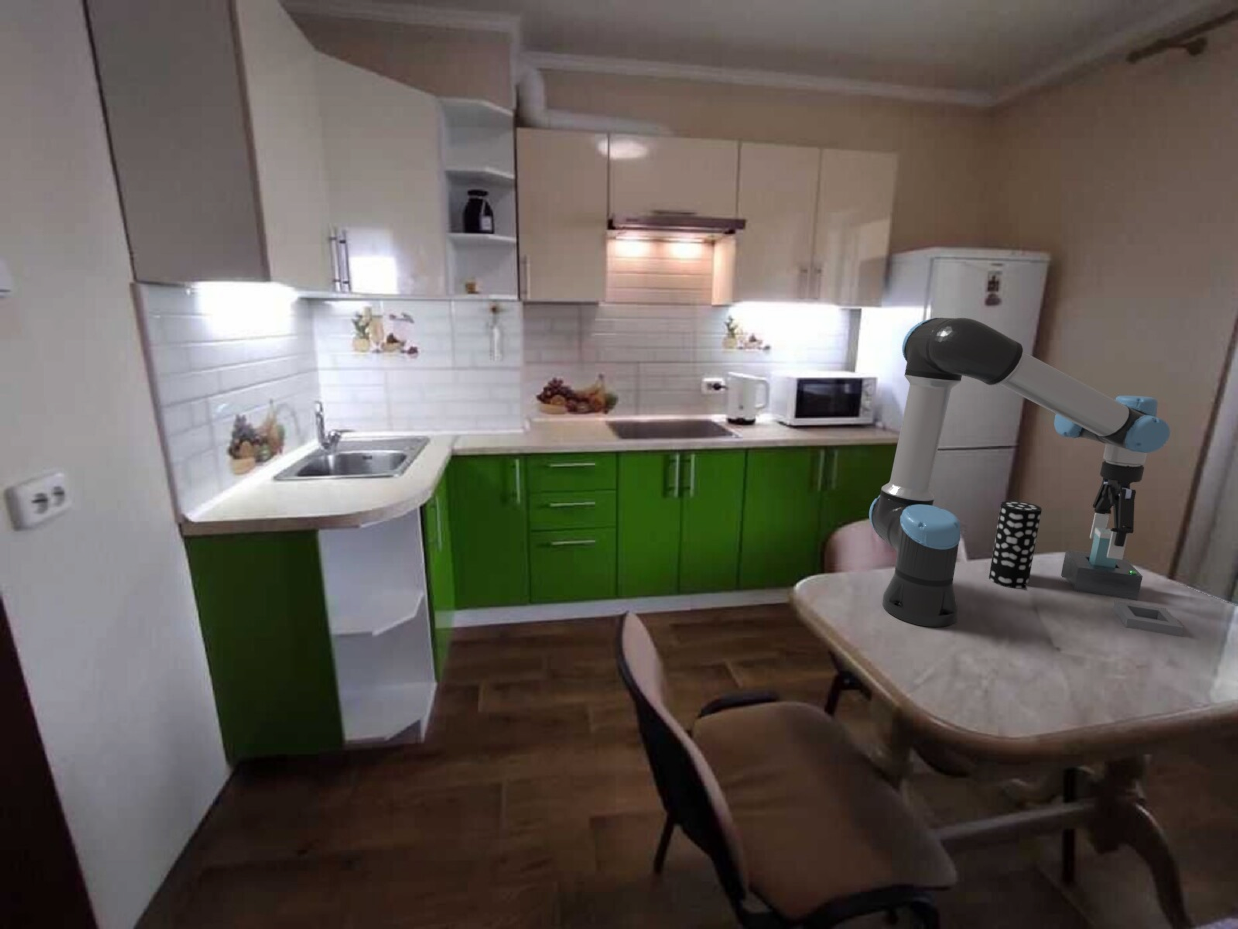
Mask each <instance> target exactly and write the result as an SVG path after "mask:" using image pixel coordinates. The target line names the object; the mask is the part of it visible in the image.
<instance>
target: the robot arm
mask: <svg viewBox="0 0 1238 929" xmlns="http://www.w3.org/2000/svg"><path fill="white" fill-rule="evenodd" d="M901 349H902V350H901V351H902V356H903V358H904V359H905V361H906V365H905V370H904V378H905V379H906V380H907V381H908V383H909V386H908V392H907V396H906V401H905V408H904V412H903V417H902V421H901V425H900V431H899V435H898V436H899V437H898V440H897V445H896V450H895V455H894V460H893V464H892V469H891V470H892V471H891V473H890V474H891V475H890V479H889V482H888V483H886V484H884V485H883V486H881V490H880V494H879V495H878V497H877V498H874V500H873V501H872V503H871V504H870V508H869V512H868V516H869V522H870V524H871V527H872V528H873V530H874V532H875V533H876V534H877V535H878V537H880V538H881V539H882V541H883V540H884V541H885V542H886V543H887V544H888V545H889V546H891V547H892V548H893V549H894V550H895V551H896V559H895V569H894V575H893V576H892V578H891V579H890V581H889V583H888V585H887V587H886V589H885V591H884V593H883V594H882V595H883V597H882V607H883V609H884V610H885V611H886V612H887V613H888V614H890V615H891V616H893V617H895V618H896V619H899V620H901V621H902V622H903V621H904V622H906V623H910V624H914V625H916V626H917V625H918V626H923V627H930V628H931V627H932V628H935V627H936V628H940V627H941V628H942V627H949V626H951V625H953V624H954V623H955V622H957V619H958V615H959V614H958V613H959V608H958V603H957V599H956V594H955V590H954V576H955V570H956V563H957V558H958V552H959V546H960V541H961V538H962V536H961V535H962V534H961V526H962V525H961V522H960V520H959V518H958V516H956V515H955V514H954V513H952V512H951V511H950V510H947V509H945V508H940V507H938V506H934V501H935V495H934V494H933V493H932V492H931V490H930V486H931V485H930V484H931V482H932V481H931V480H932V476H933V472H934V467H935V465H936V464H935V463H936V459H937V454H938V449H939V445H940V441H941V438H942V437H941V436H942V432H943V427H944V423H945V419H946V416H947V414H946V413H947V411H948V405H949V401H950V396H951V392H952V389H953V388H954V387H956V386H957V385H958V384H960V383H961V381H962V377H967V378H971V379H975V380H978V381H980V382H982V383H984V384H986V385H989V386H991V387H992V386H997V385H999V386H1002V387H1004V388H1005V389H1006V390H1009V391H1011V392H1013V393H1015V394H1016V395H1019V396H1021V397H1022V398H1024V399H1026V400H1029V401H1030V402H1033V403H1035V404H1037V405H1039V406H1040V407H1042V408H1044V409H1046V410H1048V411H1050V412H1052V413H1054V414H1055V416H1054V420H1053V426H1054V429H1055V431H1056V433H1057V434H1058V435H1059V436H1061V437H1063V438H1072V439H1077V438H1079V439H1080V438H1081V439H1082V438H1083V439H1087V440H1091V441H1095V442H1098V443H1102V444H1105V447H1104V451H1103V456H1102V458H1103V460H1104V461H1103V462H1102V463H1101V467H1100V473H1099V475H1100V477H1102V481H1101V485H1100V487H1099V490H1098V492H1097V494H1096V497H1095V499H1094V501H1093V504H1092V508H1094V516H1093V520H1092V525H1091V530H1090V535H1089V538H1090V539H1091V540H1092V539H1093V540H1094V535H1095V527H1096V528H1104V529H1108V528H1107V527H1108V522H1109V520H1110V519H1109V518H1110V515H1112V510H1113V524H1114V525H1113V527H1112V528H1110V529H1111V531H1112V534H1111V538H1110V543H1109V548H1108V552H1107V558H1114V559H1121V560H1122V559H1123V558H1124V553H1125V549H1126V545H1127V541H1128V535H1129V534H1133V533H1134V531H1135V530H1134V524H1135V517H1134V516H1135V500H1136V494H1137V490H1136V489H1131V484H1132V483H1139V482H1141V481H1142V479H1143V475H1144V472H1145V467H1144V464H1145V463H1146V460H1147V455H1150V454H1152V453H1154V452H1157V451H1159V450H1161V449H1162V448H1163V447H1164V446H1165V444H1166V443H1167V442H1168V441H1169V439H1170V434H1171V430H1170V426H1169V424H1168V423H1167V422H1166V421H1165V420H1164V419H1162V418H1160V417H1157V413H1158V404H1159V403H1158V400H1157V399H1156V398H1155V397H1150V396H1143V395H1131V394H1130V395H1128V394H1127V395H1123V394H1122V395H1118V396H1116V397H1115V399H1114V398H1112V397H1110V396H1109V395H1106V394H1104V393H1103V392H1101V391H1099V390H1097V389H1096V388H1093V387H1092V386H1090V385H1087V384H1086V383H1084V382H1082V381H1080V380H1078V379H1077V378H1075V377H1072V376H1070V375H1069V374H1067V373H1065V372H1063V371H1061V370H1059V369H1057V368H1056V367H1053V366H1051V365H1049V364H1048V363H1046V362H1044V361H1043V360H1040V359H1038V358H1037V357H1034V356H1032V355H1031V354H1028V353H1027V352H1025V347H1024V345H1023V344H1022V343H1020V342H1018V341H1017V340H1015V339H1012V338H1011V337H1009V336H1007V335H1006V334H1004V333H1001V332H1000V331H999V330H996V329H995V328H993V327H991V326H989V325H987V324H985V323H983V322H981V321H978V320H976V319H974V318H973V319H972V318H970V317H969V318H968V317H953V318H952V317H933V318H928V319H925V320H922V321H920V322H918V323H916V324H915V325H914V326H912V327H911V328H910V329H909V331H908V332H907V333H906V334H905V336H904V339H903V342H902V346H901ZM1112 508H1113V509H1112Z"/></svg>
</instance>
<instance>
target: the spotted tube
mask: <svg viewBox="0 0 1238 929" xmlns="http://www.w3.org/2000/svg"><path fill="white" fill-rule="evenodd" d="M1042 510H1043V509H1042V507H1041V506H1039V505H1037V504H1034V503H1031V502H1025V501H1019V500H1018V501H1017V500H1004V501H1001V503H1000V507H999V514H998V519H997V520H998V521H997V526H996V532H995V538H994V545H993V549H992V555H991V562H990V569H989V574H988V579H989V580H990V581H991V582H992V583H995V584H997V585H1000V586H1002V587H1006V588H1011V589H1025V588H1027V586H1026V585H1027V584H1029V581H1030V576H1031V570H1032V565H1033V559H1034V554H1035V551H1036V550H1035V548H1036V543H1037V539H1038V532H1039V526H1040V523H1041V522H1040V521H1041V516H1042V512H1043V511H1042Z"/></svg>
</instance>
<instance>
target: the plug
mask: <svg viewBox="0 0 1238 929" xmlns="http://www.w3.org/2000/svg"><path fill="white" fill-rule="evenodd" d="M1111 529H1112V528H1107V529H1104V528H1096V527H1095V535H1094V539H1093V540H1092V546H1091V551H1090V553H1091V555H1090V559H1089V562H1090V563H1091V565H1097V566H1104V567H1111V568H1115V566H1116V562H1117V559H1114V558H1107V552H1108V548H1109V543H1110V538H1111V534H1112V531H1111Z"/></svg>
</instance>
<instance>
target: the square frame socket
mask: <svg viewBox="0 0 1238 929" xmlns="http://www.w3.org/2000/svg"><path fill="white" fill-rule="evenodd" d="M1111 610H1112V611H1114V613H1115V615H1116V616H1117V618H1119V620H1120V621H1121V623H1122V624H1123V625H1124V626H1125V628H1128V629H1129V628H1130V629H1133V630H1134V629H1135V630H1140V631H1146V632H1153V633H1158V634H1162V635H1163V634H1164V635H1170V636H1174V637H1175V636H1176V637H1182V636H1183V635H1182V634H1183V632H1184V626H1182V624H1180V622H1179V620H1177V619H1176V618H1175V617H1174V616H1173V615H1172V613H1170V611H1169V610H1168V609H1167V608H1163V607H1157V606H1151V605H1145V604H1137V603H1134V602H1133V603H1132V602H1125V601H1118V600H1113V604H1112V609H1111Z"/></svg>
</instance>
